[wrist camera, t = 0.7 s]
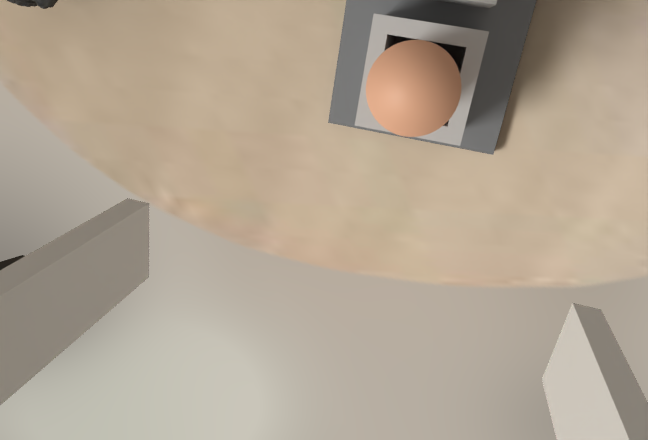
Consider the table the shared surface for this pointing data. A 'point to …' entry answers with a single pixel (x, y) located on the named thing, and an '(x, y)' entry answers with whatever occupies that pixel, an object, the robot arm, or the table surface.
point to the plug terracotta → (413, 88)
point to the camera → (35, 3)
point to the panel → (453, 36)
